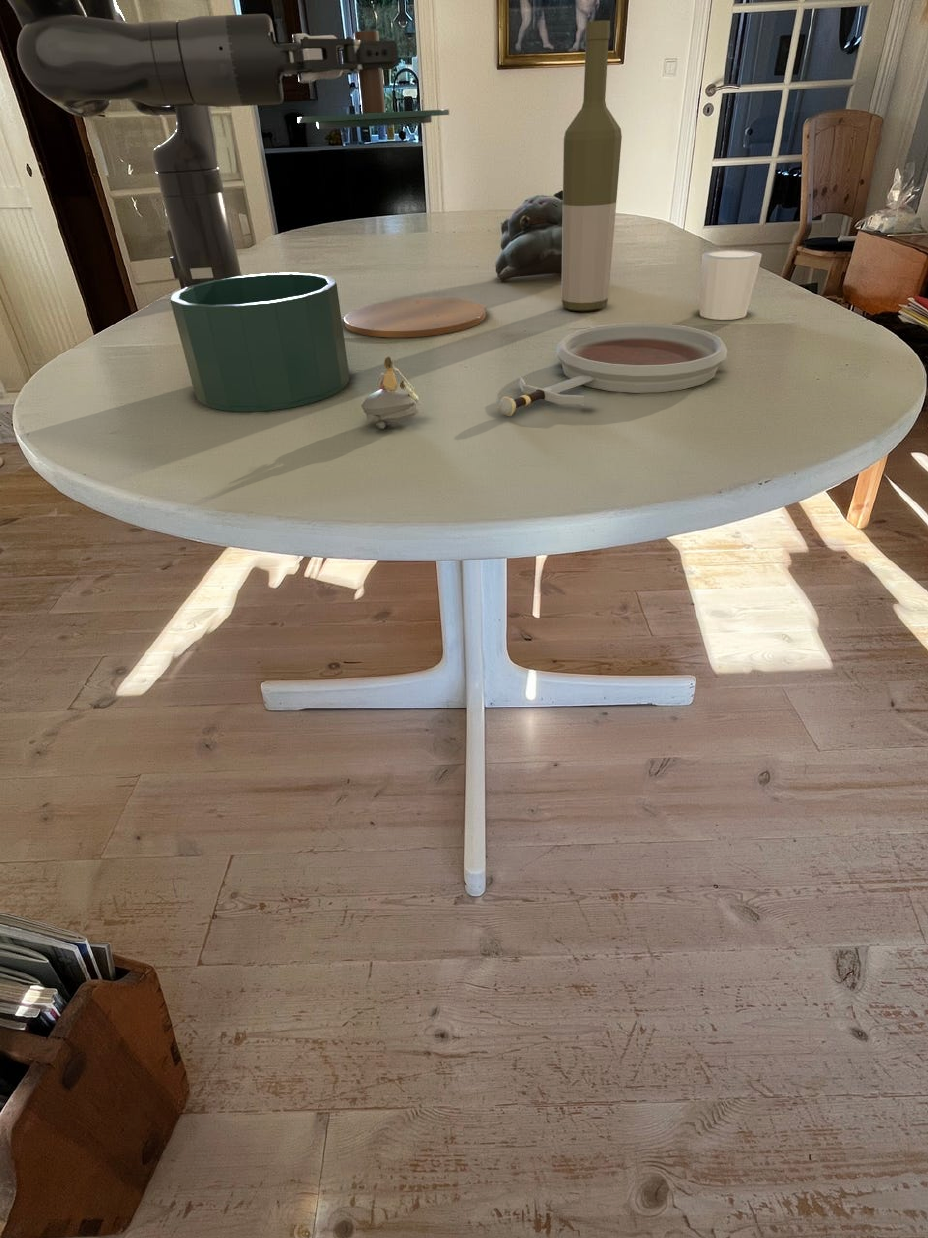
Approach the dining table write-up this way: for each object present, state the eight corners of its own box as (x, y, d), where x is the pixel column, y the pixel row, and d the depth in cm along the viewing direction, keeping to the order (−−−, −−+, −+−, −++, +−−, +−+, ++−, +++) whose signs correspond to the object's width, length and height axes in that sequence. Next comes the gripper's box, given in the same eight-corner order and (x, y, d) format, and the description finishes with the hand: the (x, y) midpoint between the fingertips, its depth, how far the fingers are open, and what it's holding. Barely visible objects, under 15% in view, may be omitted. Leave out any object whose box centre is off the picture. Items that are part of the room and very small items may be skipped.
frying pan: (439, 373, 68) (626, 311, 82) (441, 403, 69) (625, 337, 83) (573, 414, 57) (763, 335, 71) (572, 449, 59) (758, 365, 73)
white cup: (683, 312, 92) (690, 252, 88) (726, 305, 94) (735, 246, 90) (718, 323, 87) (728, 260, 83) (763, 315, 89) (774, 253, 85)
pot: (164, 399, 73) (135, 299, 67) (270, 358, 83) (252, 269, 78) (279, 420, 66) (257, 311, 60) (378, 373, 77) (367, 277, 71)
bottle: (586, 316, 93) (601, 16, 75) (547, 309, 97) (553, 24, 80) (621, 306, 96) (643, 18, 79) (581, 299, 101) (594, 25, 83)
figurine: (366, 434, 62) (356, 364, 58) (362, 417, 65) (353, 350, 62) (425, 427, 63) (420, 357, 59) (418, 411, 66) (413, 344, 63)
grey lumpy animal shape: (479, 282, 114) (476, 190, 112) (520, 300, 123) (517, 215, 122) (561, 256, 105) (558, 156, 103) (598, 278, 114) (597, 186, 113)
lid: (267, 131, 78) (251, 35, 73) (360, 124, 89) (351, 41, 84) (393, 125, 70) (384, 18, 66) (477, 119, 82) (474, 28, 77)
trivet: (315, 330, 94) (314, 323, 93) (397, 299, 107) (396, 294, 106) (437, 343, 85) (437, 336, 85) (510, 308, 99) (510, 302, 98)
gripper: (215, 6, 67) (398, -1, 69) (230, 22, 78) (387, 16, 80) (234, 104, 71) (405, 96, 73) (245, 106, 82) (393, 99, 84)
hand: (395, 54), depth 77 cm, fingers closed on lid, 2 cm apart
